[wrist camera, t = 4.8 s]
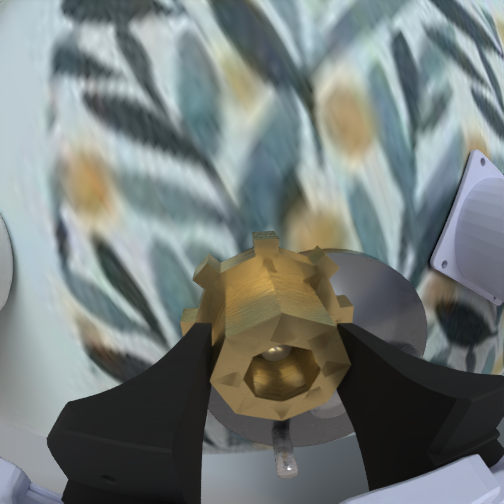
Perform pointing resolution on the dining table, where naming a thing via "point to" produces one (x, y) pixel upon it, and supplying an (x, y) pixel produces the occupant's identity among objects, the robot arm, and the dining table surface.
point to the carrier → (333, 412)
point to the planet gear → (272, 328)
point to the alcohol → (5, 264)
